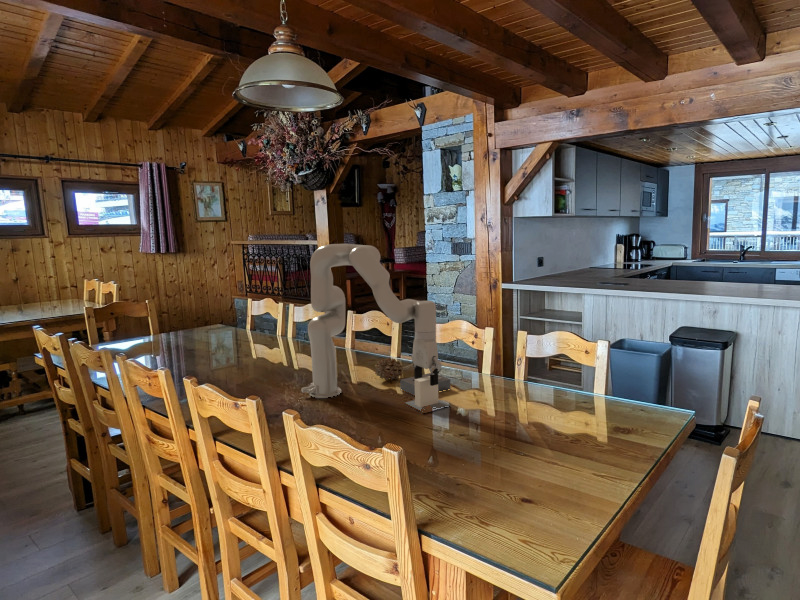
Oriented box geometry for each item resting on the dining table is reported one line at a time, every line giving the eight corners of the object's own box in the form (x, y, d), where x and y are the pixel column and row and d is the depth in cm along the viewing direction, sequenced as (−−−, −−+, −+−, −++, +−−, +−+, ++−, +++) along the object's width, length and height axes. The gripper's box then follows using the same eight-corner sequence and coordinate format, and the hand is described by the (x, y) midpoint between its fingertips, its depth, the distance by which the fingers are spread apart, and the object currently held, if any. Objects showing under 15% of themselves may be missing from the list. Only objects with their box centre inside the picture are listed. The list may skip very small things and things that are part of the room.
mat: (423, 414, 174) (423, 412, 174) (404, 404, 184) (404, 402, 184) (450, 406, 181) (450, 404, 181) (430, 398, 191) (430, 396, 191)
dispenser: (417, 398, 191) (417, 385, 191) (400, 390, 201) (400, 378, 201) (450, 390, 200) (450, 377, 199) (432, 383, 210) (432, 371, 209)
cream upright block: (420, 407, 179) (420, 381, 178) (415, 404, 182) (414, 379, 181) (438, 402, 183) (438, 377, 182) (432, 400, 186) (432, 375, 185)
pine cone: (383, 386, 208) (382, 362, 206) (370, 381, 215) (369, 358, 214) (423, 375, 221) (422, 353, 220) (409, 371, 229) (408, 350, 227)
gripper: (403, 332, 184) (404, 377, 187) (431, 341, 170) (432, 389, 172) (420, 330, 188) (420, 374, 191) (448, 338, 174) (449, 385, 176)
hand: (426, 381), depth 182 cm, fingers open, 9 cm apart
